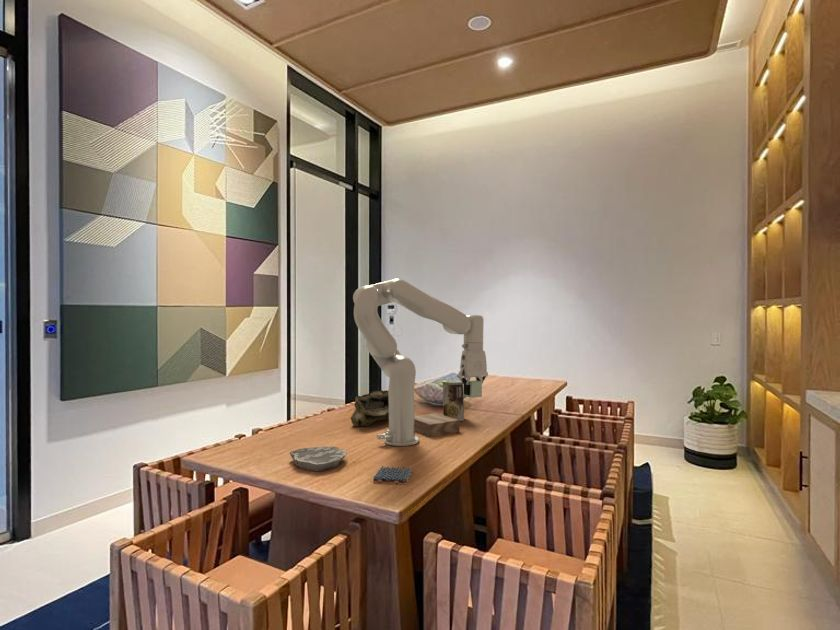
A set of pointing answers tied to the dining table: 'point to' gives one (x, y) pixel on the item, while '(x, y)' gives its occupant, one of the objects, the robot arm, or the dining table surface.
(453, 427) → the block
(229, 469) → the dining table surface
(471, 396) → the sage block
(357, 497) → the dining table surface
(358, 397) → the hollow geode rock
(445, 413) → the coffee box
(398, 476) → the bristly blue-grey mat
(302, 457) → the flat grey stone slab
